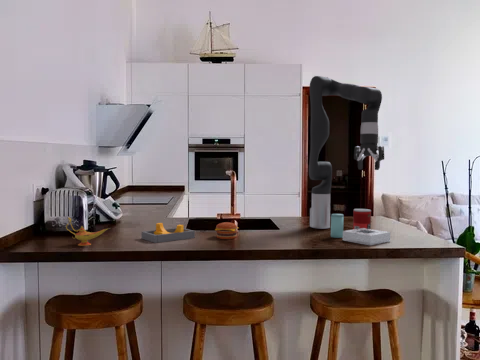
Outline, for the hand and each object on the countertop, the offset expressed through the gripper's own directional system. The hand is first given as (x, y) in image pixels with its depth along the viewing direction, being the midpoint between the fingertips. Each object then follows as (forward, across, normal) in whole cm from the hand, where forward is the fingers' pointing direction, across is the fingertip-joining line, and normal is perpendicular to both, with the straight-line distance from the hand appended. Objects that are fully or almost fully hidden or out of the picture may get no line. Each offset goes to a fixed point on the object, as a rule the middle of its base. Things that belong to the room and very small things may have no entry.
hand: (368, 169), depth 201 cm
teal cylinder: (+30, -8, -11) cm, 33 cm away
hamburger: (+30, -37, -51) cm, 70 cm away
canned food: (+30, -8, +7) cm, 32 cm away
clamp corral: (+30, -50, -73) cm, 93 cm away
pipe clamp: (+31, -50, -73) cm, 93 cm away
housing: (+30, +6, -9) cm, 32 cm away
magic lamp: (+30, -57, -106) cm, 124 cm away
